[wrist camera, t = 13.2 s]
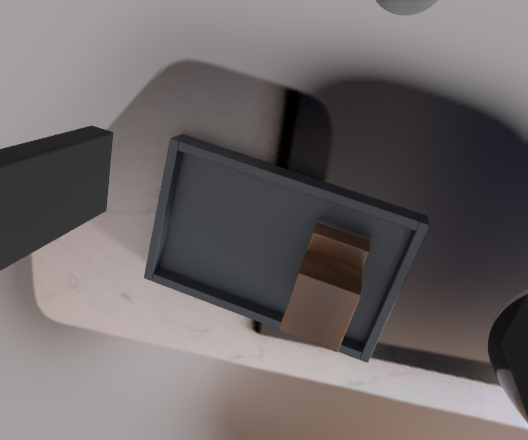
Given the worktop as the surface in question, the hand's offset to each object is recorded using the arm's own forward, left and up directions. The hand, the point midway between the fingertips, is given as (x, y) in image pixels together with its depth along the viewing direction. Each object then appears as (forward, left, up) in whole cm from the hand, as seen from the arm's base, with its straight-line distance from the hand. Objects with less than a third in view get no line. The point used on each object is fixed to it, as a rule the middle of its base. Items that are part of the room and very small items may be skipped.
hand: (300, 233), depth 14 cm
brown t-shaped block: (+9, +8, -23) cm, 26 cm away
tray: (+11, +4, -24) cm, 27 cm away
